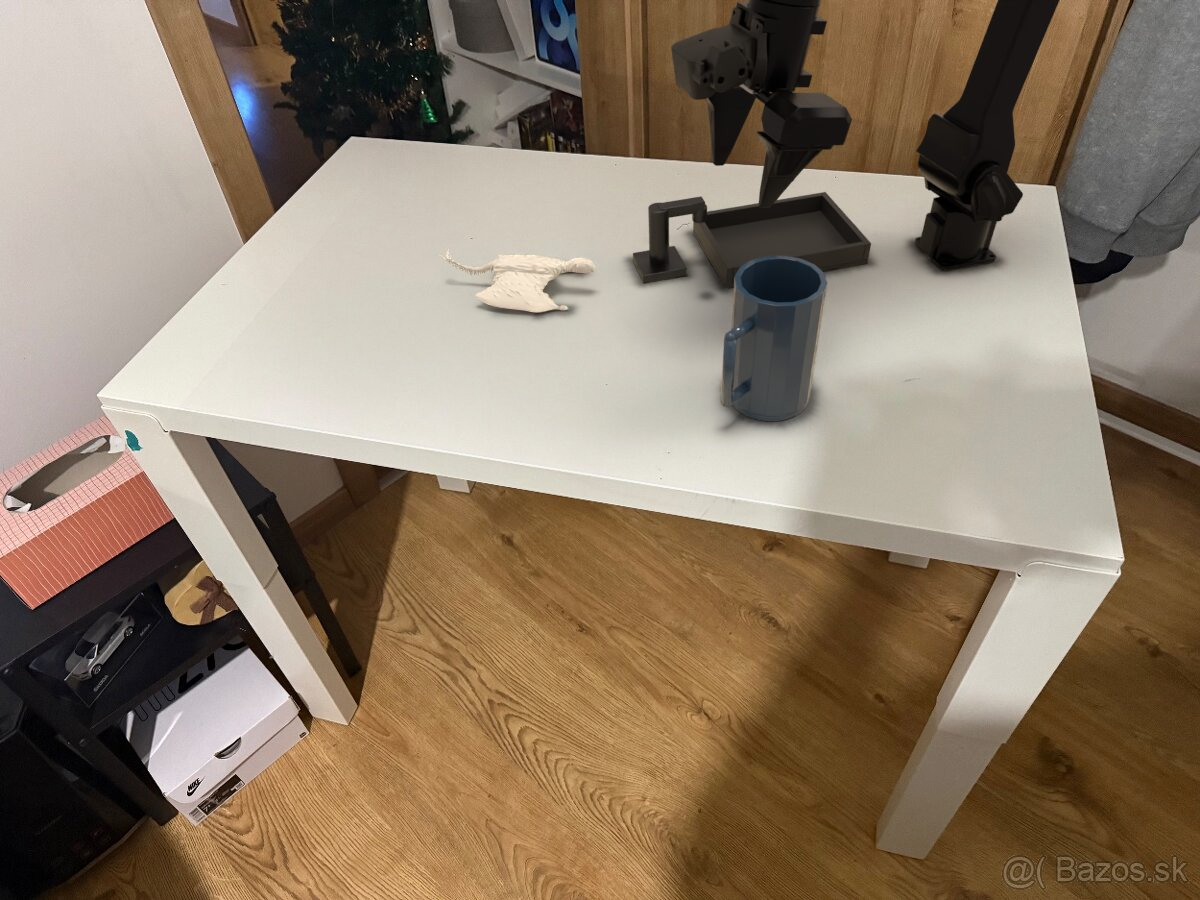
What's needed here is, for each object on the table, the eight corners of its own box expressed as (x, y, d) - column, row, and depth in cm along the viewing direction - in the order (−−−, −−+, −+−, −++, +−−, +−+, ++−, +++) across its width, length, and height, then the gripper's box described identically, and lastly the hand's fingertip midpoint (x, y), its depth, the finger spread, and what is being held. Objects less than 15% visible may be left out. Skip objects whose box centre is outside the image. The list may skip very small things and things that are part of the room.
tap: (643, 283, 91) (641, 221, 85) (632, 260, 94) (630, 199, 89) (711, 271, 92) (714, 209, 86) (698, 249, 95) (700, 187, 90)
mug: (762, 359, 80) (773, 246, 71) (825, 393, 76) (844, 277, 67) (690, 411, 75) (692, 296, 66) (753, 450, 71) (765, 333, 62)
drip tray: (822, 210, 99) (825, 191, 98) (867, 263, 91) (871, 243, 89) (692, 232, 98) (693, 213, 96) (725, 288, 89) (727, 268, 87)
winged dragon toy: (427, 307, 90) (419, 275, 87) (458, 258, 97) (451, 226, 94) (587, 319, 86) (584, 286, 84) (606, 267, 93) (604, 235, 91)
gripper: (648, -36, 69) (623, 147, 79) (752, 28, 56) (706, 237, 67) (762, -29, 73) (724, 145, 83) (884, 33, 60) (821, 230, 70)
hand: (740, 185), depth 76 cm, fingers open, 9 cm apart
